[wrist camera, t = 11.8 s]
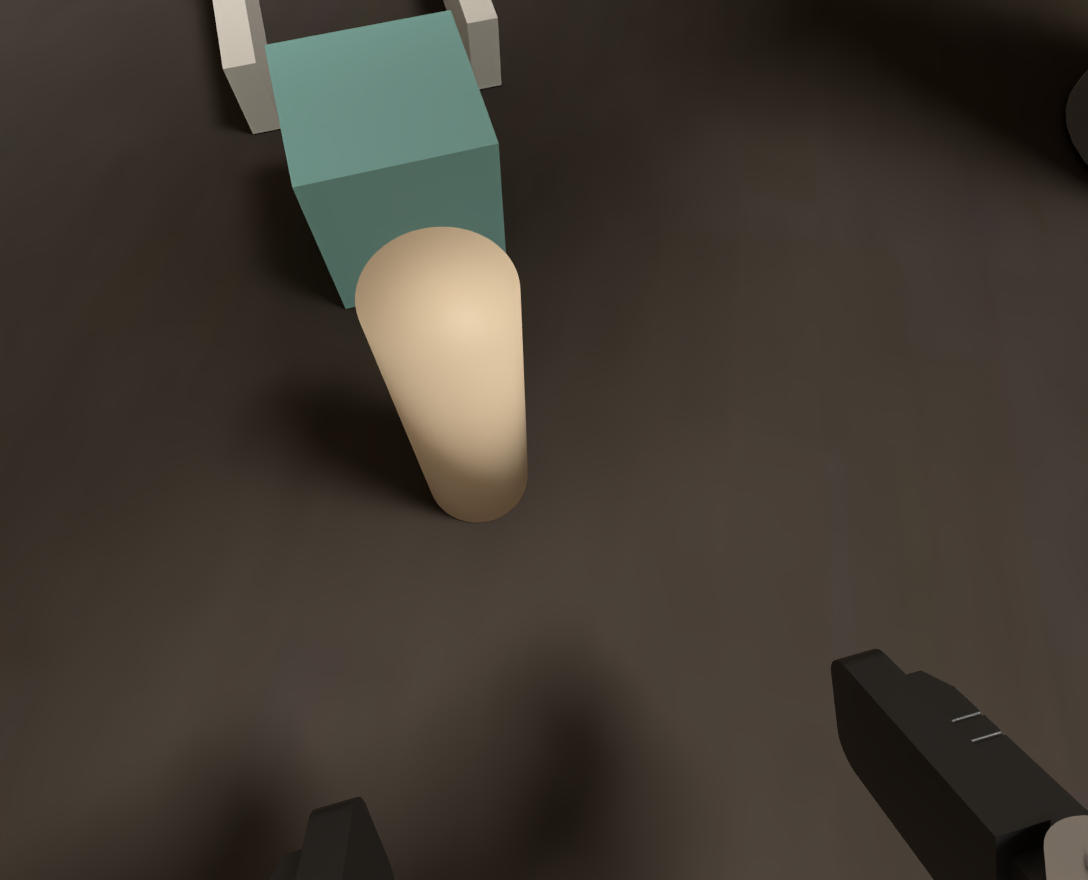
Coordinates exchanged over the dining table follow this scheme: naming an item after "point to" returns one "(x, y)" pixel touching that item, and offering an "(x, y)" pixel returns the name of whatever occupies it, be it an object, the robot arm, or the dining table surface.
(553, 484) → the dining table surface
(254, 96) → the cream u-shaped frame
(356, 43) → the tethered block
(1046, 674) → the dining table surface
